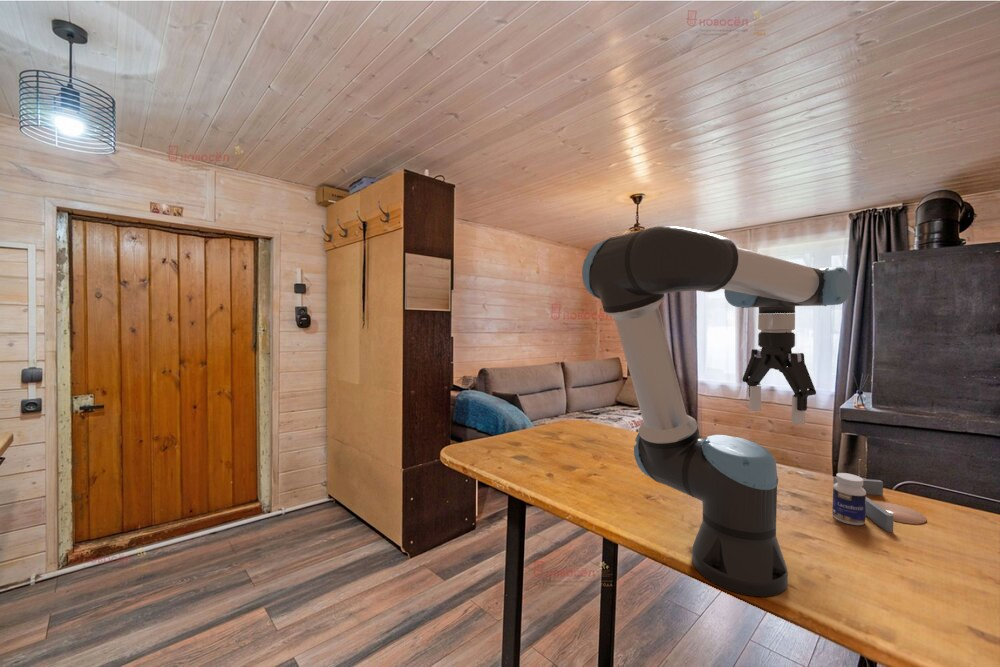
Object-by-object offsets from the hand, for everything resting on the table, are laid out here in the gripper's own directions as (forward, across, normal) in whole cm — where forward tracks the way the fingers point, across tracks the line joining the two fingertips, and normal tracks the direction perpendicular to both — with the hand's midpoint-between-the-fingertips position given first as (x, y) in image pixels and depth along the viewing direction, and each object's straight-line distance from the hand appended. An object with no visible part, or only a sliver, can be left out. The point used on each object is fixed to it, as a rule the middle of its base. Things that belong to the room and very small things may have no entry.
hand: (775, 417), depth 102 cm
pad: (+21, -10, -22) cm, 32 cm away
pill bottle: (+21, -11, -9) cm, 26 cm away
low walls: (+21, -8, -21) cm, 31 cm away
